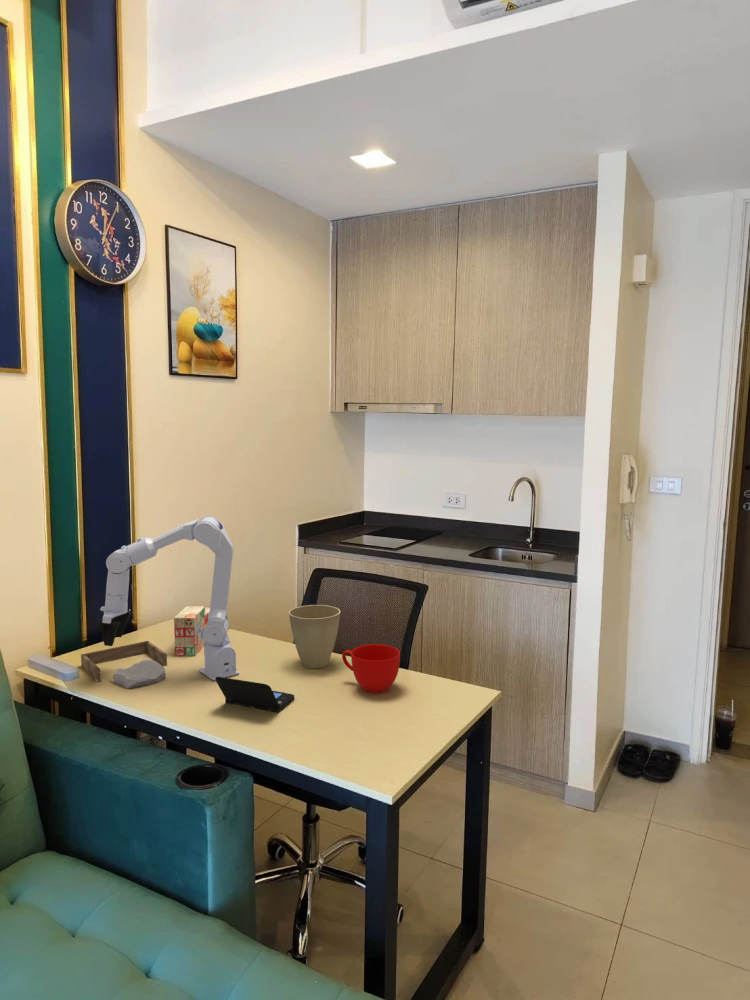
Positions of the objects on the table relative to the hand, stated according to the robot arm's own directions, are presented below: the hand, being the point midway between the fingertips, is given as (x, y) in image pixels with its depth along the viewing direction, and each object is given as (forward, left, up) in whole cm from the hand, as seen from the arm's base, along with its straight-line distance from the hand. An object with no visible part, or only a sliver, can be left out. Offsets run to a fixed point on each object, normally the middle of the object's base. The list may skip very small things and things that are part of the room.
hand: (113, 640), depth 190 cm
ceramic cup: (-50, -51, -10) cm, 72 cm away
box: (+6, -5, -10) cm, 13 cm away
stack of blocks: (+11, -29, -10) cm, 32 cm away
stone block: (-8, -5, -11) cm, 14 cm away
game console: (-42, -21, -11) cm, 48 cm away
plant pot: (-27, -49, -10) cm, 57 cm away
